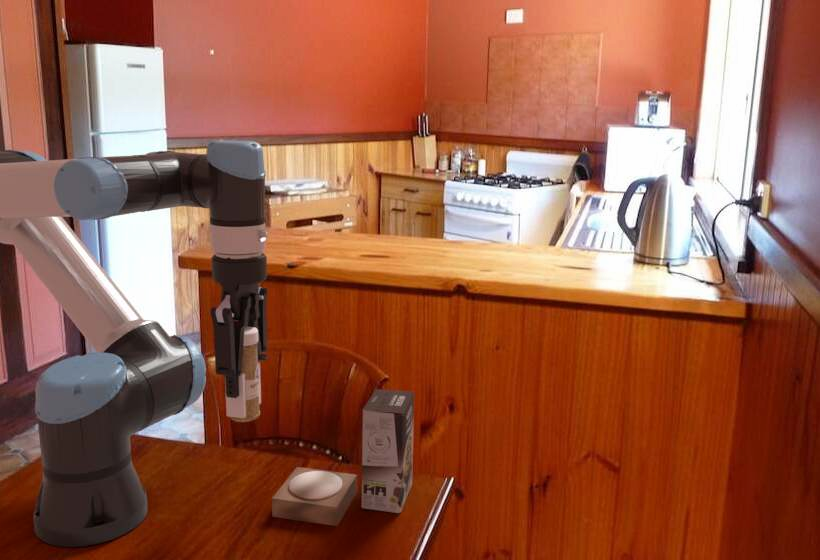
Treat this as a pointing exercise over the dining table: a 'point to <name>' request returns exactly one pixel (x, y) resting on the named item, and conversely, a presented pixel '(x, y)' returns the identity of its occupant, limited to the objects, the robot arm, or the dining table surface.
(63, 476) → the robot arm
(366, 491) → the coffee box
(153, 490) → the dining table surface
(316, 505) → the base
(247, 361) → the sprinkles bottle
